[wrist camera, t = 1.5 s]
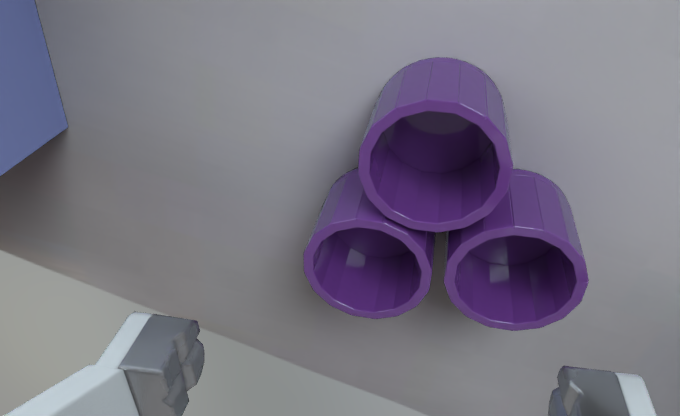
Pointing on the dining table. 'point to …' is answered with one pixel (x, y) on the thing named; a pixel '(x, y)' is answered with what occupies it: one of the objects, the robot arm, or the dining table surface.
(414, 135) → the purple short cylinder
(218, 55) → the dining table surface
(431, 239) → the purple cup
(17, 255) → the dining table surface
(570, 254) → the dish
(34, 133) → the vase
